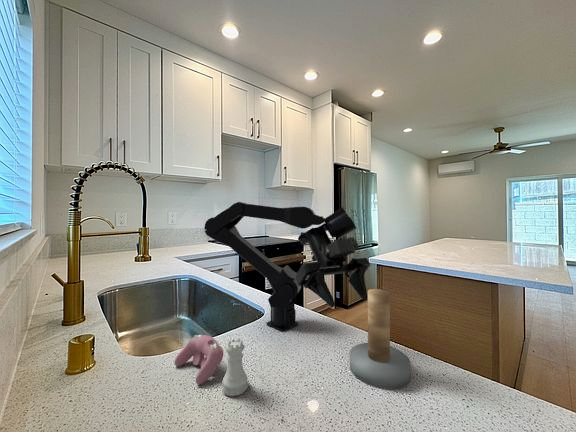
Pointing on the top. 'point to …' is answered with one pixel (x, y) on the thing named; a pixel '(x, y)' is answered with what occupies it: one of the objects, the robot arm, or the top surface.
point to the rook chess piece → (234, 370)
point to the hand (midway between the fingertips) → (350, 302)
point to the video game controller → (201, 356)
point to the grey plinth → (380, 368)
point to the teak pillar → (379, 325)
